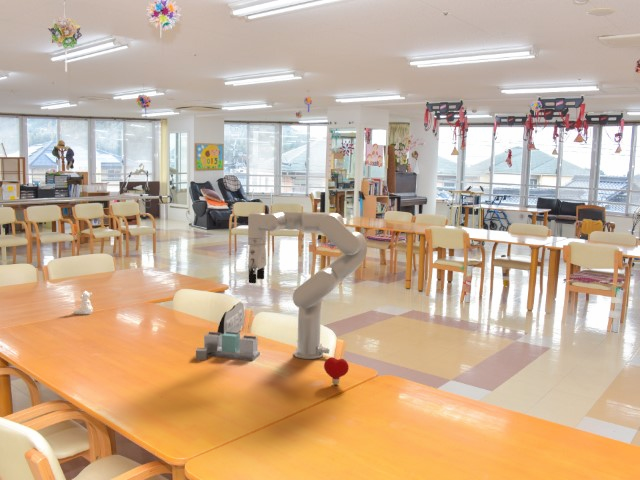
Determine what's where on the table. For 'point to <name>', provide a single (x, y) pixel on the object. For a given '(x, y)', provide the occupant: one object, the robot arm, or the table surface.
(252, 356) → the board
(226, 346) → the module
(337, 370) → the light bulb
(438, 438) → the table surface
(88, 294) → the white creature statuette
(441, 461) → the table surface
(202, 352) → the block
